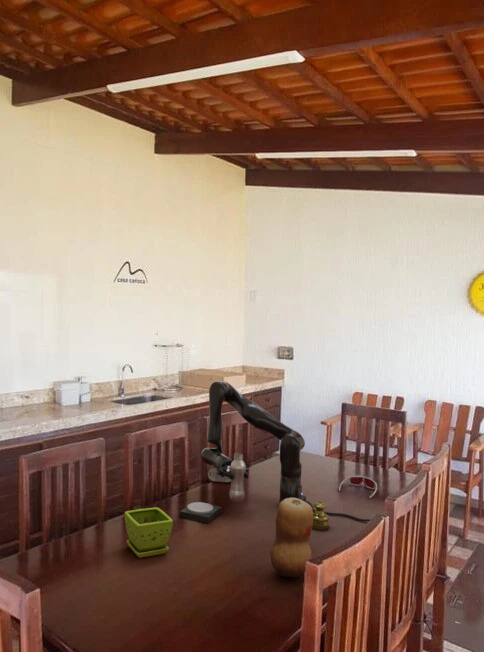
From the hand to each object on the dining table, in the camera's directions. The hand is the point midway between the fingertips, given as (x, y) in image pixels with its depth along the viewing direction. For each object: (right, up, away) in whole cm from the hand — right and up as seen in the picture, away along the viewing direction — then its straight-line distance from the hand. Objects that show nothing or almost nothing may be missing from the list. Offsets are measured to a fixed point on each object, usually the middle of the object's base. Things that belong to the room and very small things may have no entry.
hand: (240, 476), depth 227 cm
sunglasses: (+63, -19, +41) cm, 78 cm away
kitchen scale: (-16, -16, +1) cm, 23 cm away
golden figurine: (+32, -19, -7) cm, 38 cm away
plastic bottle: (-1, -11, +2) cm, 11 cm away
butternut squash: (+13, -18, -49) cm, 54 cm away
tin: (-6, -16, +46) cm, 49 cm away
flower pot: (-36, -16, -35) cm, 53 cm away
